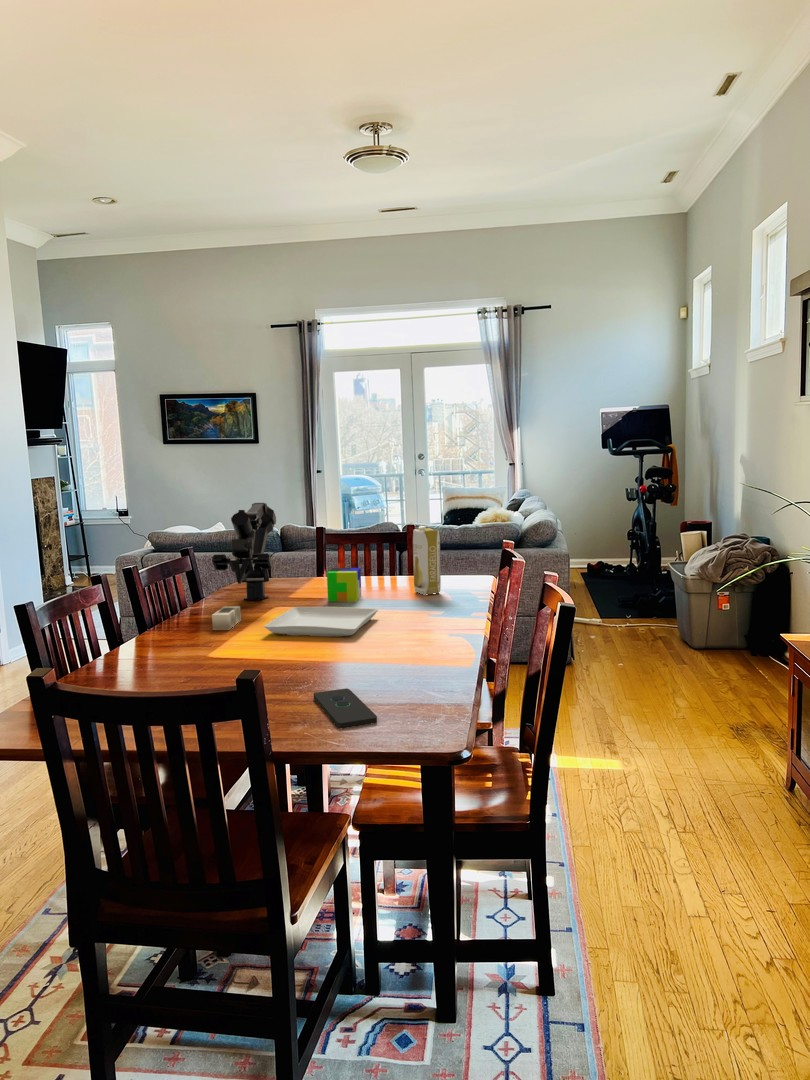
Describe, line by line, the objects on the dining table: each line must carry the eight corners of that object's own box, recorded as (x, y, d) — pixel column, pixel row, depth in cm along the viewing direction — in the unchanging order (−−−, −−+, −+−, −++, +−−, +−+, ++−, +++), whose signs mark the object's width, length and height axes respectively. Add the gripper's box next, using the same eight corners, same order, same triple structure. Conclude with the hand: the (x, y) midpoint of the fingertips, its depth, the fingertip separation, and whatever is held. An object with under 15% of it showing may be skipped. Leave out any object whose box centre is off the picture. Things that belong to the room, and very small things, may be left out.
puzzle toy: (361, 595, 278) (360, 567, 277) (356, 601, 268) (355, 572, 267) (333, 596, 279) (332, 568, 278) (328, 601, 269) (326, 572, 268)
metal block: (224, 605, 243) (211, 614, 231) (240, 605, 242) (228, 614, 230) (225, 622, 243) (212, 631, 231) (241, 621, 243) (229, 631, 231)
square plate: (356, 641, 217) (355, 627, 216) (262, 638, 222) (262, 625, 222) (379, 619, 243) (378, 606, 242) (294, 617, 248) (294, 605, 248)
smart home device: (348, 687, 172) (378, 716, 153) (349, 694, 172) (379, 725, 153) (311, 692, 169) (337, 722, 150) (312, 700, 169) (338, 731, 150)
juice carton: (411, 592, 282) (410, 525, 278) (431, 589, 285) (430, 524, 282) (423, 596, 273) (421, 528, 270) (443, 594, 276) (442, 526, 273)
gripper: (211, 529, 256) (203, 569, 246) (268, 528, 255) (263, 568, 246) (219, 550, 264) (212, 589, 255) (274, 549, 264) (269, 587, 254)
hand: (238, 583), depth 252 cm, fingers closed
